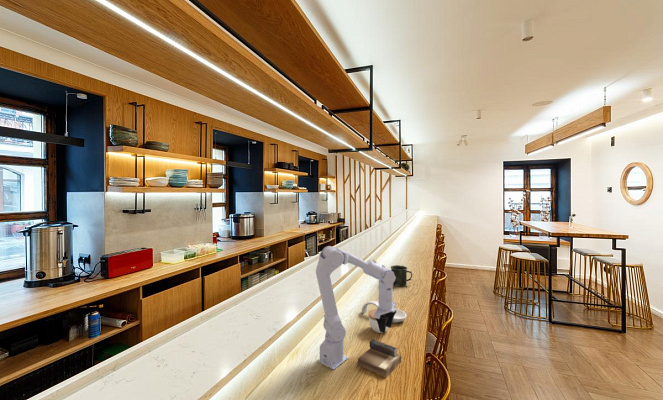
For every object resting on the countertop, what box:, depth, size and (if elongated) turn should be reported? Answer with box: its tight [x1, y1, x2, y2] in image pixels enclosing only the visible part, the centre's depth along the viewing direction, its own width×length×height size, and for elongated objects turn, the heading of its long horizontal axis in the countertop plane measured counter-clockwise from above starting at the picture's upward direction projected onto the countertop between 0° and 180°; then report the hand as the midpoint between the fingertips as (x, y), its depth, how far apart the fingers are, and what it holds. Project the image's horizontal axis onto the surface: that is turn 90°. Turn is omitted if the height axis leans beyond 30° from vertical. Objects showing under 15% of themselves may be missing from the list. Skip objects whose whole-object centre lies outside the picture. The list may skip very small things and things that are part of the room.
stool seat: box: [357, 347, 402, 378], centre depth 111 cm, size 12×12×3 cm
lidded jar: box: [368, 308, 390, 334], centre depth 137 cm, size 11×11×9 cm
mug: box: [390, 264, 413, 288], centre depth 200 cm, size 11×15×12 cm
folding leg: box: [369, 338, 398, 357], centre depth 114 cm, size 11×2×2 cm, turn 51°
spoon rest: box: [360, 300, 407, 324], centre depth 150 cm, size 24×12×7 cm, turn 58°
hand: (385, 329), depth 120 cm, fingers open, 5 cm apart
